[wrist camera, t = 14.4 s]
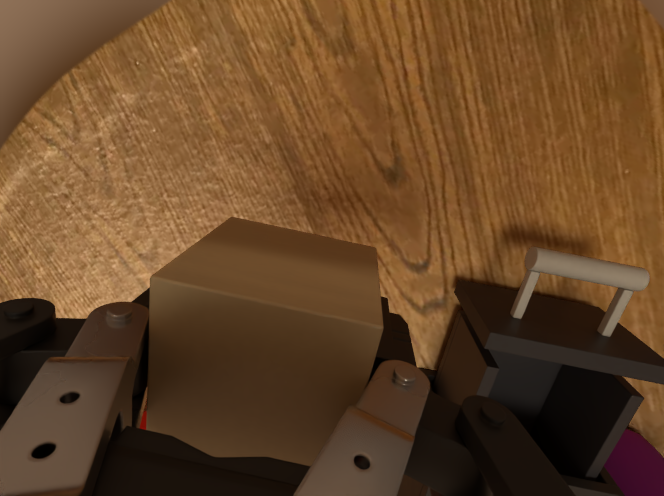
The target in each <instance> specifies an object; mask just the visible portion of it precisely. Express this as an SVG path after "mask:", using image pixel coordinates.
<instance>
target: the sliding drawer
mask: <svg viewBox="0 0 664 496" xmlns="http://www.w3.org/2000/svg"><path fill="white" fill-rule="evenodd" d="M525 266H526V268H527V272H526V274H525V277H524V279H523V282H522V284H521V287H520V289H519V291H514V290H509V289H504V288H499V287H494V286H489V285H484V284H479V283H474V282H469V281H464V280H458V282H457V285H456V288H455V291H454V293H455V295H456V296H457V298H458V300H459V302H460V304H461V306H462V308H463V310H464V311H461V310H459V311H458V313H457V316H456V319H455V322H454V325H453V328H452V331H451V334H450V337H449V340H448V343H447V346H446V348H445V351H444V354H443V357H442V360H441V363H440V366H439V369H438V372H437V375H436V378H435V381H434V384H433V386H432V391H433V392H434V393H436V394H437V395H439V396H441V397H443V398H445V399H447V400H449V401H451V402H454V403H456V404H458V405H460V406H461V405H462V402H463V400H464V399H465V398H466V397H468V396H472V395H479V396H484V397H488V398H490V399H493V400H495V401H497V402H499V403H500V404H502V405H503V406H505V407H506V408H507V409H509V410H510V411H511V412H512V413H513V414H514V415H515V416H516V418H517V419H518V420H519V421H520V423H521V424H522V425H523V427H524V428H525V429H526V431H527V432H528V433H529V435H530V436H531V437H532V439H533V440H534V441H535V442H536V444H537V445H538V446H539V448H540V449H541V450H542V452H543V453H544V454H545V456H546V457H547V458H548V460H549V461H550V462H551V463H552V465H553V466H554V467H555V469H556V470H557V471H558V473H559V474H561V475H566V476H570V477H575V478H580V479H585V480H590V481H595V479H596V478H597V476H598V474H599V473H600V471H601V469H602V468H603V466H604V464H605V463H606V461H607V459H608V458H609V456H610V454H611V453H612V451H613V449H614V448H615V446H616V444H617V443H618V441H619V439H620V438H621V436H622V434H623V433H624V431H625V429H626V428H627V426H628V424H629V423H630V421H631V419H632V418H633V416H634V414H635V413H636V411H637V409H638V407H639V406H640V404H641V402H642V401H643V399H644V398H643V396H642V395H641V394H640V393H638V392H637V391H636V390H635V389H634V388H633V387H632V386H631V385H630V384H629V383H628V382H627V381H626V380H625V379H624V378H623V377H622V376H624V377H629V378H634V379H639V380H644V381H649V382H654V383H659V384H664V359H663V358H662V357H661V356H660V355H658V354H657V353H656V352H655V351H653V350H652V349H651V348H650V347H648V346H647V345H646V344H645V343H643V342H642V341H641V340H639V339H638V338H637V337H636V336H634V335H633V334H632V333H631V332H629V331H628V330H627V329H626V328H624V327H623V326H622V325H620V324H619V323H618V321H619V319H620V317H621V315H622V313H623V311H624V309H625V307H626V305H627V304H628V302H629V300H630V298H631V296H632V294H633V291H632V290H634V291H641V290H643V289H645V288H646V286H647V285H648V283H649V273H648V272H647V270H645V269H644V268H640V267H635V266H630V265H625V264H620V263H614V262H609V261H604V260H599V259H594V258H589V257H584V256H579V255H574V254H569V253H564V252H559V251H554V250H548V249H543V248H538V247H531V248H530V249H529V250H528V251H527V253H526V256H525ZM540 272H543V273H548V274H553V275H558V276H563V277H568V278H573V279H578V280H583V281H588V282H593V283H598V284H604V285H609V286H614V287H619V288H618V290H617V292H616V294H615V296H614V298H613V300H612V302H611V303H610V305H609V307H608V309H607V311H606V313H605V312H604V311H603V310H602V309H600V308H599V307H595V306H590V305H585V304H580V303H575V302H570V301H565V300H560V299H555V298H550V297H544V296H539V295H534V294H532V292H533V290H534V287H535V285H536V282H537V280H538V278H539V275H540Z"/></svg>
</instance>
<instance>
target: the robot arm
mask: <svg viewBox="0 0 664 496" xmlns="http://www.w3.org/2000/svg"><path fill="white" fill-rule="evenodd" d="M149 302H150V288H149V289H147V290H146V291H145V292H143V293H142V294H141V295H140V296H138V297H137V298H136V299H135V300H133V301H132V302H115V303H110V304H106V305H103V306H100V307H98V308H96V309H95V310H93V311H92V312H91V313H90V315H89V316H88V318H87V319H70V318H56V314H55V306H54V304H52V303H51V302H49V301H47V300H44V299H37V298H22V299H15V300H9V301H5V302H2V303H0V496H397V493H398V490H399V487H400V484H401V481H402V478H403V474H405V475H407V476H409V477H411V478H412V479H414V480H416V481H418V482H420V483H422V484H423V485H425V486H427V487H429V488H430V493H431V496H493V495H494V496H576V495H575V494H574V492H573V491H572V490H571V488H570V487H569V486H568V484H567V483H566V482H565V481H564V479H563V478H562V477H561V475H560V474H559V473H558V471H557V470H556V469H555V467H554V466H553V465H552V463H551V462H550V461H549V460H548V458H547V457H546V456H545V454H544V453H543V452H542V450H541V449H540V448H539V446H538V445H537V444H536V442H535V441H534V440H533V439H532V437H531V436H530V435H529V433H528V432H527V431H526V429H525V428H524V427H523V425H522V424H521V423H520V421H519V420H518V419H517V418H516V416H515V415H514V414H513V413H512V412H511V411H510V410H509V409H507V408H506V407H505V406H503V405H502V404H500V403H499V402H497V401H495V400H493V399H490V398H488V397H484V396H479V395H472V396H468V397H466V398H465V399H464V400H463V402H462V405H461V406H460V405H458V404H456V403H454V402H451V401H449V400H447V399H445V398H443V397H441V396H439V395H437V394H436V393H434V392H433V391H431V390H430V382H429V380H428V378H427V376H426V375H425V374H424V373H423V372H422V371H421V370H420V369H418V368H417V367H416V362H415V357H414V352H413V348H412V343H411V338H410V335H409V334H410V333H409V329H408V324H407V323H406V322H405V320H404V319H403V318H402V317H401V316H400V315H398V314H394V313H389V306H388V299H387V298H386V297H381V305H382V316H383V327H384V329H383V332H382V336H381V339H380V343H379V346H378V350H377V353H376V357H375V360H374V364H373V367H372V371H371V374H370V378H369V381H368V385H367V387H366V388H365V390H364V392H363V394H362V395H361V397H360V399H359V400H358V402H357V404H356V405H355V406H354V405H352V404H350V405H349V406H348V407H347V409H346V410H345V412H344V414H343V415H342V417H341V418H340V420H339V422H338V423H337V425H336V427H335V428H334V430H333V431H332V433H331V435H330V436H329V438H328V440H327V441H326V443H325V444H324V446H323V448H322V449H321V451H320V452H319V454H318V456H317V457H316V459H315V461H314V462H313V464H312V465H311V466H307V465H302V464H298V463H293V462H289V461H284V460H280V459H275V458H271V457H214V456H211V455H208V454H207V453H205V452H203V451H201V450H199V449H197V448H195V447H193V446H191V445H189V444H187V443H185V442H183V441H181V440H179V439H177V438H176V437H174V436H171V435H167V434H162V433H158V432H153V431H149V430H144V429H140V424H141V420H142V416H143V412H144V407H145V403H146V399H147V381H148V341H149ZM492 494H493V495H492Z"/></svg>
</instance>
